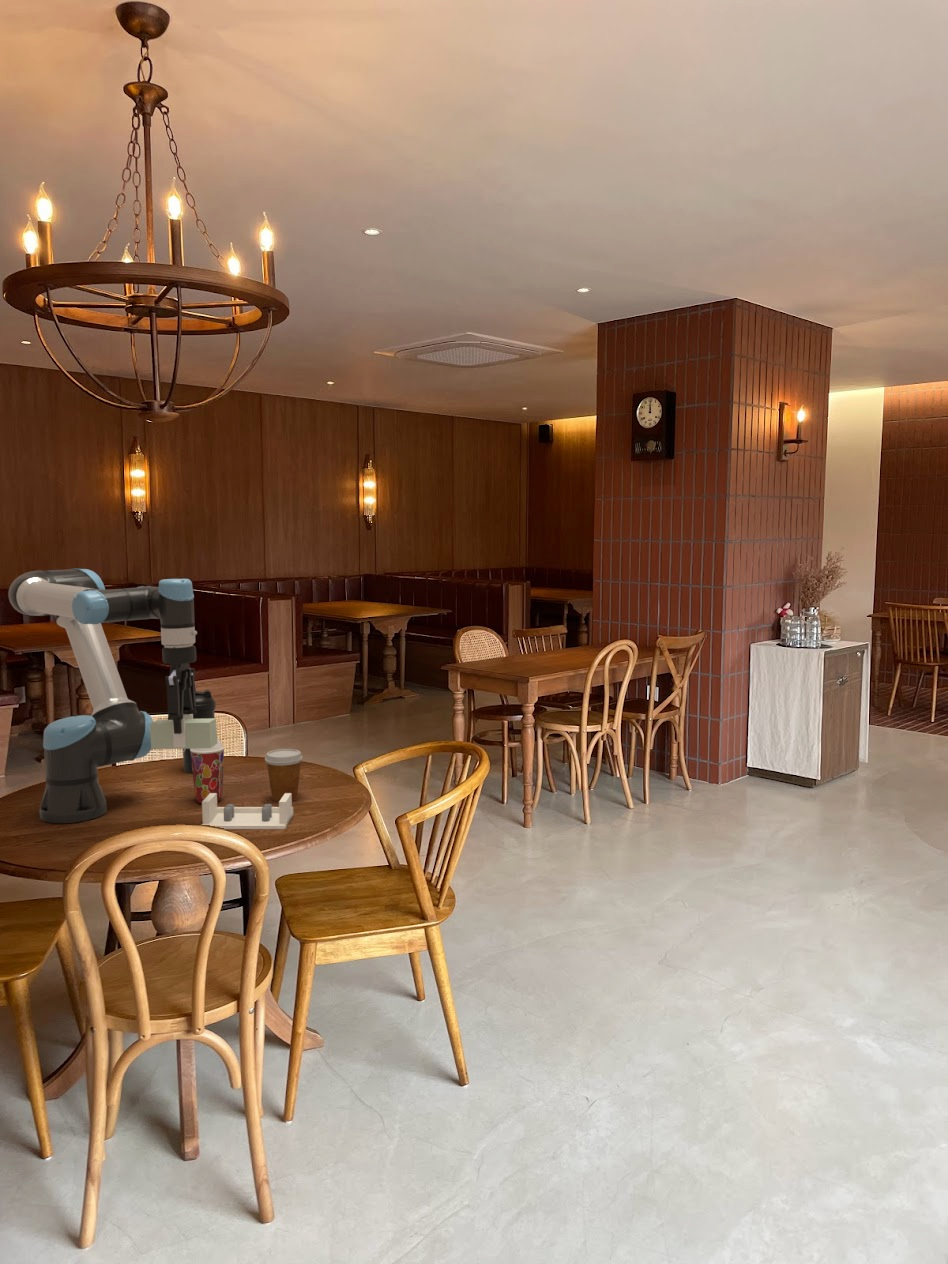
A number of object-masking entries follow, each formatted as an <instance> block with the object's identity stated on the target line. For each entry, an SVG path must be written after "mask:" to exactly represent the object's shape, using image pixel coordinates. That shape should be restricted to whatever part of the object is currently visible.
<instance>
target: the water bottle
mask: <svg viewBox="0 0 948 1264" xmlns="http://www.w3.org/2000/svg"><path fill="white" fill-rule="evenodd" d="M195 700H196V709H194V710H197V713H192V714H193V719H208V718H215V710H216V700H215V699H214V697H213V696H212V692H211V691H210V689H204V690H203V691H197V690H195ZM181 750H182V752H181V753H182V760H183V763H182V764H183V772H184V773H186V774H191V775H193V772H192V762H191V752H190V749H181Z"/></svg>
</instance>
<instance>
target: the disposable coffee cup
mask: <svg viewBox="0 0 948 1264" xmlns="http://www.w3.org/2000/svg"><path fill="white" fill-rule="evenodd" d="M302 759H303V755H302V753H301V751H300V750H298V749H292V748H284V749H283V748H281V749H274V750H269V751H268V752H266V755H265V757H264V760H265V763H266V766H267V773H268V779H269V786H270V791H271V798H272V801H275V802H276V803H277V802H278V803H279V801H280V800H281V798H282V797H283V795H284V794H285V793H291V794H292V801H295V800H297V799H298V792H299V782H300V772H301V763H302V761H303V760H302Z"/></svg>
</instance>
